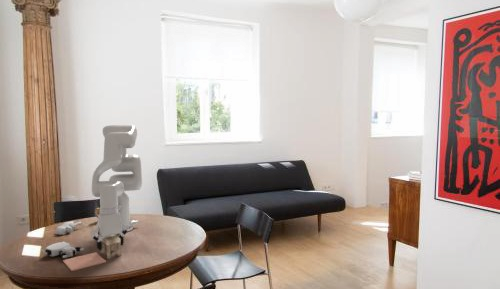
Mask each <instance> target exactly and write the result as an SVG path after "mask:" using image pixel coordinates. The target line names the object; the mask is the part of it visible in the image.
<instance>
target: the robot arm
mask: <svg viewBox="0 0 500 289" xmlns="http://www.w3.org/2000/svg"><path fill="white" fill-rule="evenodd" d="M102 134H103V137H104V142H103V159H102V161H101V163H100V164H99V165H98V166H97V167H96V168H95V170H94V171H93V174H92V178H91V193H92V196H94V197H95V198H99V204H100V205H99V208H100V211H101V214H99V216H98V217H97V221H98V222H97V223H96V224H97V225H96V226H97V228H95V229H94V230H92V231H91V232H90V233H89V234H90V236H91V238H92V239H93V240H94V241H96V248H97V250H98V251H101V250H102V242H101V239H102V238H103V237H106V236H111V235H116V236H117V235H118V237H119V238H120V239H121V246H123V245H124V242H125V241H124V240H125V239H124V237H125V235H127V234H126V233H128V232H130V231H132V230H133V229H134V225H138V224H139V223H140V221H139V220H131V215H130V214H131V211H130V210H131V208H130V197H129V196H128V194H127V193H126V192H131V191H133V192H134V191H139V190H141V188H142V186H143V185H142V184H143V181H142V180H143V179H142V176H143V175H142V161H141V158H140V156H139V155H138V154H127V149H133V148H134V147H135V145H136V141H137V136H138V131H137V127H136V126H135V125H133V124H121V125H120V124H112V125H106V126H103V128H102ZM110 169H111V170H112V172H114V173H118V174H113V175H111V176H110V177H109V179H108V180H102V181H100V178H101V176H102V175H103V174H104V173H105V172H107V171H108V170H110ZM119 173H120V174H119ZM96 233H97V236H96Z"/></svg>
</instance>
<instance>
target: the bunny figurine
mask: <svg viewBox="0 0 500 289" xmlns="http://www.w3.org/2000/svg"><path fill="white" fill-rule="evenodd" d="M82 224H83V223H82V221H78V222H74V221H72V220H71V221H65V222H63V223H62V224H61V225H59V226H56V227H55V231H54V233H55V235H61V236H62V235H63V236H65V235H67V234H68V233H72V232H73V231H75V228H76V226H80V225H82Z"/></svg>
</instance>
